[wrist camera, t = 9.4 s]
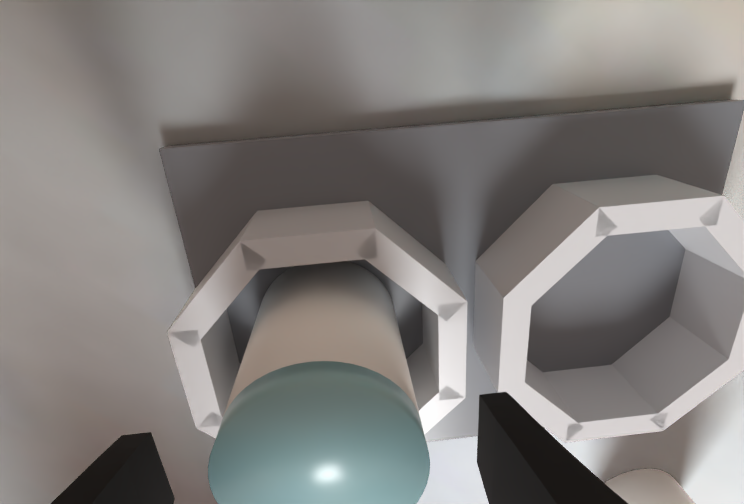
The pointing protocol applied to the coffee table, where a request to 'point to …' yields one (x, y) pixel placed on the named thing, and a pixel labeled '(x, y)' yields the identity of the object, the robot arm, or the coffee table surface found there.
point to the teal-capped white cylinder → (322, 399)
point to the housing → (487, 258)
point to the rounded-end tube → (648, 487)
